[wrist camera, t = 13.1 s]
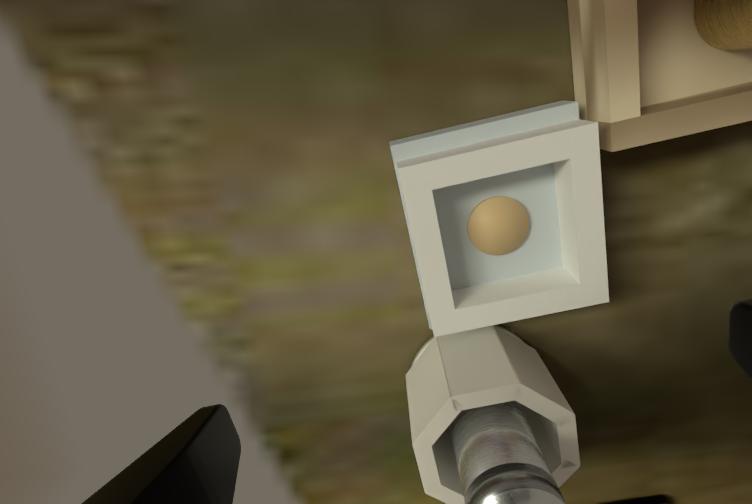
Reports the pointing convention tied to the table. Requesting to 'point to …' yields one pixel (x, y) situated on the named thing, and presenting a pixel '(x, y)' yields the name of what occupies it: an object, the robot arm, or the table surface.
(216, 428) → the robot arm
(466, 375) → the white octagonal prism
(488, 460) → the cylinder
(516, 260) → the cradle
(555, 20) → the table surface
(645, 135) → the trough
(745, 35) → the brass cell
